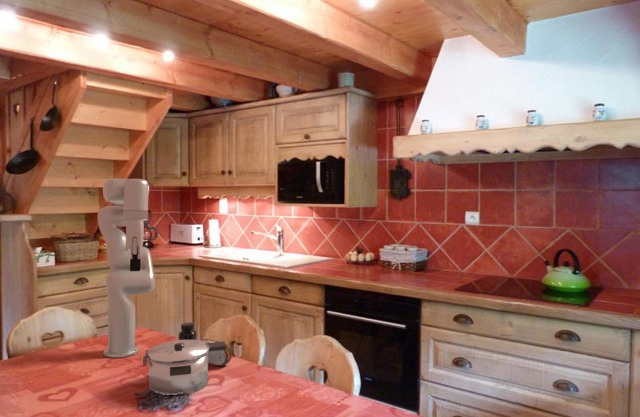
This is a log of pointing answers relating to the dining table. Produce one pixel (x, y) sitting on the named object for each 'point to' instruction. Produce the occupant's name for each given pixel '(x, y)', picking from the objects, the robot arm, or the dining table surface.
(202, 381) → the cooker pot
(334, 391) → the dining table surface
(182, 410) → the dining table surface
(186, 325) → the supplement bottle
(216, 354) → the tin
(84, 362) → the dining table surface
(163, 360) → the cooker lid
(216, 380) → the dining table surface
